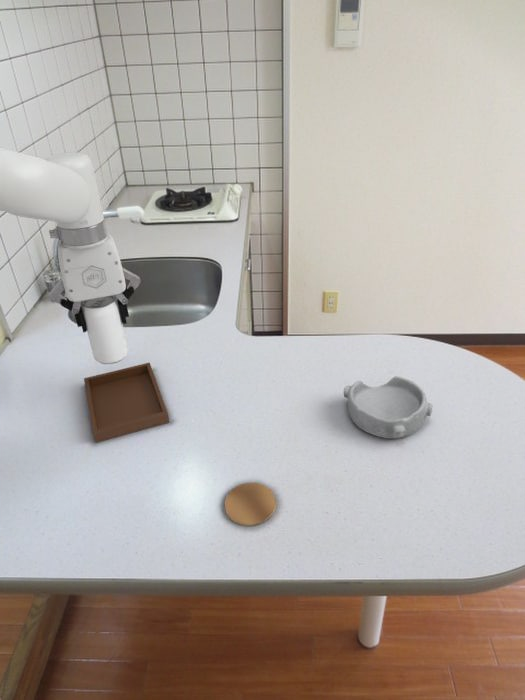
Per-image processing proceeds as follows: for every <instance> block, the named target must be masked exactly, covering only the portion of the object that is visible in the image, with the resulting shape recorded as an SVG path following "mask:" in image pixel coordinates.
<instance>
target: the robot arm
mask: <svg viewBox="0 0 525 700" xmlns="http://www.w3.org/2000/svg"><path fill="white" fill-rule="evenodd" d="M101 202H102V201H101V197H100V193H99V188H98V182H97V177H96V172H95V167H94V164H93V160H92V158H90V156H89V155H87V154H86V153H84V152H77V151H69V152H68V151H67V152H59V153H55V154H52V155H50V156H49V155H48V156H47V157H45V159H44V158H41V157H37V156H33V155H30V154H26V153H23V152H19V151H14V150H12V149H8V148H4V147H1V146H0V212H6V213H8V214H10V215H12V216H16V217H20V218H21V217H22V218H27V219H33V220H41V221H42V220H43V221H50V222H56V226H55V228H53V229H48V233H49V237H50V239H58V240H59V241H58V242H57V258H58V266H59V270H60V275H61V278H60V279H59V280H58V281H57V283H56V284H55V286H53V288H52V289H51V290H50V292H49V293H48V296H49V297H48V298H49V299H50V300H51V301H53V302H54V303H56V304H59V305H60V306H61V307H63V308H64V309H67V310H68V311H70V312H71V313H72V314H74V318H75V321H76V326H77V328H80V327H81V329H82V333H87V328H86V324H85V320H84V316H83V312H82V310H83V306H81V305H82V302H83V301H86V300H92V299H97V298H102V297H107V296H112V295H113V296H115V297H116V299H117V300H116V302H117V303H118V305H119V309H120V314H121V319H122V323H123V325H127V324H128V323H127V318H129V317H130V315H129V308H128V302H129V300H130V298H131V297H132V296H133V295H134V293H135V290H136V289H137V288H138V287H139V286H140V284H141V282H142V281H141V278H140V276H139V275H137V274H135V273H134V272H132V271H130V270H128V269H127V268H125V267H123V266H122V261H121V258H120V253H119V250H118V248H117V245H116V242H115V240H114V238H113V236H112V235H111V234H110V233H108V231H107V226H106V220H105V216H104V212H103V207H102V203H101ZM126 280H128V281H129V282H128V284H126ZM63 291H65V295H66V296H63V294H62V293H63Z"/></svg>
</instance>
